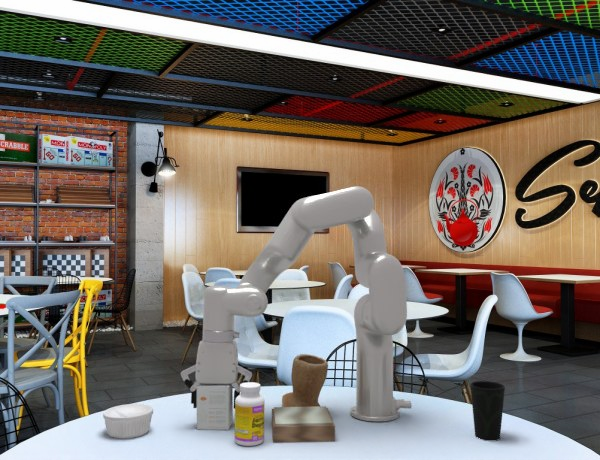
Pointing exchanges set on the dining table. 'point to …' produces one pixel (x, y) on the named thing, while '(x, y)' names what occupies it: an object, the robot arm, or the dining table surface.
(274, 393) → the dining table surface
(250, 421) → the supplement bottle
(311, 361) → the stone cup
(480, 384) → the cup
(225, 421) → the small box
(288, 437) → the stand
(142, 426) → the ramekin
